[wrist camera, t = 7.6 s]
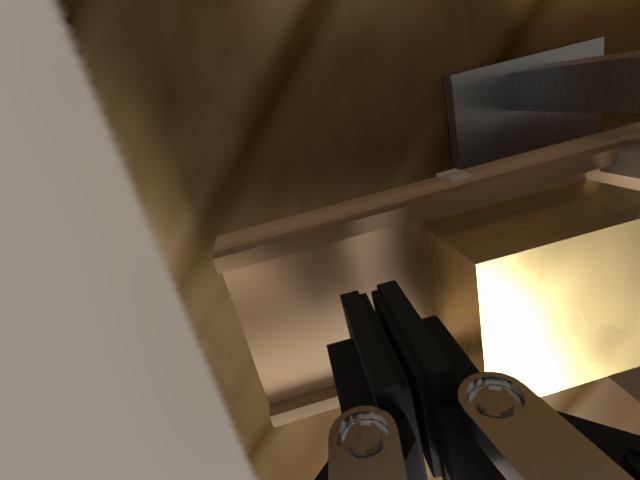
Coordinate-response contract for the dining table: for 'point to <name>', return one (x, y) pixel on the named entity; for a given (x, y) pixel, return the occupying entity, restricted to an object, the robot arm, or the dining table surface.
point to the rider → (542, 284)
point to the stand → (541, 109)
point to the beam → (376, 257)
